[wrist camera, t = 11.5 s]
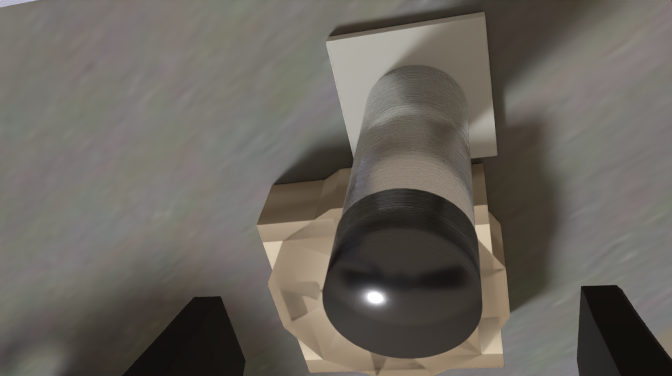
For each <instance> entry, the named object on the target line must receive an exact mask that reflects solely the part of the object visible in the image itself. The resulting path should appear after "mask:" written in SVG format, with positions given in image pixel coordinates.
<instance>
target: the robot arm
mask: <svg viewBox="0 0 672 376" xmlns="http://www.w3.org/2000/svg"><path fill="white" fill-rule="evenodd" d="M30 1H35V0H0V7H5V6H10V5H15V4H20V3H25V2H30ZM577 363H578V369H579V376H672V359H671V358H670V356H669V355H668V354H667V353H666V351H665V350H664V349H663V347H662V346H661V345H660V344H659V342H658V341H657V339H656V338H655V337H654V335H653V334H652V333H651V331H650V330H649V329H648V327H647V326H646V325H645V323H644V322H643V320H642V319H641V318H640V316H639V315H638V313H637V312H636V310H635V309H634V307H633V306H632V304H631V303H630V301H629V300H628V298H627V297H626V295H625V294H624V292H623V291H622V289H620V288H619V287H618V286H617V285H604V286H581V297H580V315H579V332H578V349H577ZM244 366H245V358H244V356H243V353H242V351H241V348H240V345H239V343H238V340H237V338H236V335H235V332H234V330H233V327H232V325H231V322H230V319H229V317H228V314H227V312H226V309H225V306H224V304H223V301H222V299H221V296H217V297H194V298H193V299H192V300H191V301H190V302H189V303H188V304H187V305H186V306H185V307H184V309H183V310H182V311H181V312H180V313H179V314H178V315H177V316H176V317H175V319H174V320H173V321H172V322H171V323H170V324H169V325H168V326H167V327H166V329H165V330H164V331H163V332H162V333H161V334H160V335H159V336H158V337H157V339H156V340H155V341H154V342H153V343H152V344H151V345H150V346H149V347H148V348H147V350H146V351H145V352H144V353H143V354H142V355H141V356H140V357H139V358H138V359H137V360H136V361H135V362H134V364H133V365H132V366H131V367H130V368H129V369H128V370H127V371H126V372H125V373H124V374H123V375H122V376H243V372H244Z"/></svg>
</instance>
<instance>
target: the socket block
mask: <svg viewBox="0 0 672 376" xmlns="http://www.w3.org/2000/svg"><path fill="white" fill-rule="evenodd" d="M351 170H352V168H345V169H340V170H338V171H337V172H335V173H334V174H333V175H331V176H330V177H328V178H327V179H325V180H317V181H308V182H298V183H289V184H279V185H272V187H271V190H270V192H269V195H268V197H267V200H266V202H265V205H264V207H263V210H262V212H261V215H260V217H259V220H258V223H257V228H258V231H259V234H260V236H261V239H262V242H263V245H264V248H265V250H266V253H267V256H268V259H269V261H270V264H271V267H272V272H271V275H270V278H269V281H268V286H269V289H270V292H271V294H272V297H273V300H274V302H275V305H276V308H277V310H278V313H279V316H280V318H281V321H282V324H283V326H284V328H286V329H287V330H288V331H289V332H291V333H292V334H293V335H294V336H295V337H297V338H298V341H299V344H300V347H301V349H302V352H303V355H304V358H305V360H306V363H307V366H308V369H309V371H310V373H312V372H348V371H360V372H363V373H366V374H369V375H372V376H434V375H436V374H438V373H441V372H443V371H445V370H448V369H455V368H490V367H504V360H503V350H502V340H501V330H500V329H501V328H502V327H503V325H504V324H505V323H506V321H507V320H508V318H509V317H510V310H509V298H508V287H507V276H506V266H505V258H504V249H503V241H502V232H501V224H500V223H499V222H498V221H497V220H496V219H495V217H494V216H493V215H492V214H491V213H490V212H489V211H488V204H487V194H486V184H485V175H484V165H483V163H480V164H471V170H472V186H473V201H474V216H475V231H476V234H477V238H478V245H479V259H480V274H481V288H482V302H483V308H482V315H481V319H480V322H479V324H478V326H477V328H476V329H475V331H474V332H473V333H472V335H471V336H470V337H469V338H468V339H467V340H465V341H464V342H463V343H462V344H460V345H459V346H457V347H456V348H454V349H451V350H449V351H447V352H445V353H442V354H439V355H435V356H431V357H425V358H416V359H401V358H392V357H387V356H382V355H379V354H375V353H372V352H369V351H367V350H364V349H362V348H360V347H358V346H356V345H355V344H353V343H351V342H350V341H348V340H347V339H346V338H345V337H343V336H342V335H341V334H340V333H339V332H338V331H337V330H336V329H335V328H334V327H333V325H332V324H331V323H330V321H329V319H328V317H327V316H326V313H325V310H324V307H323V302H322V292H323V286H324V282H325V278H326V273H327V269H328V264H329V260H330V255H331V251H332V246H333V242H334V238H335V233H336V229H337V226H338V223H339V221H340V219H341V215H342V211H343V206H344V202H345V197H346V193H347V188H348V184H349V179H350V175H351Z"/></svg>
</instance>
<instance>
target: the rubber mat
mask: <svg viewBox="0 0 672 376" xmlns="http://www.w3.org/2000/svg"><path fill="white" fill-rule="evenodd" d="M326 45H327V49H328V53H329V57H330V62H331V66H332V70H333V74H334V78H335V83H336V87H337V91H338V95H339V100H340V104H341V108H342V112H343V116H344V121H345V125H346V129H347V133H348V137H349V142H350V146H351V150H352V154H353V158H354V156H355V152H356V147H357V143H358V138H359V134H360V129H361V125H362V120H363V116H364V111H365V106H366V102H367V98H368V95H369V93H370V91H371V89H372V87H373V86H374V85H375V83H376V82H377V81H378V80H379V79H380V78H381V77H382V76H384V75H385V74H387V73H388V72H390V71H392V70H394V69H396V68H400V67H403V66H408V65H425V66H430V67H434V68H437V69H439V70H441V71H443V72H445V73H446V74H448V75H449V76H451V77H452V78H453V79H454V80H455V81H456V82H457V83H458V84H459V86H460V87H461V89H462V91H463V93H464V95H465V98H466V101H467V109H468V124H469V140H470V155H471V158H481V157H490V156H497V145H496V134H495V122H494V111H493V100H492V88H491V77H490V66H489V54H488V43H487V32H486V20H485V12H479V13H473V14H467V15H461V16H454V17H448V18H442V19H436V20H430V21H423V22H417V23H411V24H405V25H399V26H393V27H386V28H380V29H374V30H368V31H362V32H355V33H349V34H343V35H337V36H331V37H327V40H326Z"/></svg>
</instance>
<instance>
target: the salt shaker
mask: <svg viewBox="0 0 672 376" xmlns="http://www.w3.org/2000/svg"><path fill="white" fill-rule="evenodd" d="M322 302H323V307H324V310H325V313H326V316H327V317H328V319H329V321H330V323H331V324H332V325H333V327H334V328H335V329H336V330H337V331H338V332H339V333H340V334H341V335H342V336H343V337H345V338H346V339H347V340H348V341H350V342H351V343H353V344H355V345H356V346H358V347H360V348H362V349H364V350H367V351H369V352H372V353H375V354H379V355H382V356H387V357H392V358H401V359H416V358H425V357H431V356H435V355H439V354H442V353H445V352H447V351H449V350H451V349H454V348H456V347H457V346H459V345H460V344H462V343H463V342H464V341H465V340H467V339H468V338H469V337H470V336H471V335H472V333H473V332H474V331H475V329H476V328H477V326H478V324H479V322H480V319H481V315H482V308H483V302H482V288H481V274H480V259H479V245H478V238H477V234H476V231H475V216H474V201H473V186H472V170H471V155H470V140H469V124H468V109H467V101H466V98H465V95H464V93H463V91H462V89H461V87H460V86H459V84H458V83H457V82H456V81H455V80H454V79H453V78H452V77H451V76H449V75H448V74H446V73H445V72H443V71H441V70H439V69H437V68H434V67H430V66H425V65H408V66H403V67H400V68H396V69H394V70H392V71H390V72H388V73H387V74H385V75H384V76H382V77H381V78H380V79H379V80H378V81H377V82H376V83H375V85H374V86H373V87H372V89H371V91H370V93H369V95H368V98H367V102H366V106H365V111H364V116H363V120H362V125H361V129H360V134H359V138H358V143H357V147H356V152H355V156H354V161H353V165H352V170H351V175H350V179H349V184H348V188H347V193H346V197H345V202H344V206H343V211H342V215H341V219H340V221H339V223H338V226H337V229H336V233H335V238H334V242H333V246H332V251H331V255H330V260H329V264H328V269H327V273H326V278H325V282H324V286H323V292H322Z"/></svg>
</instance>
